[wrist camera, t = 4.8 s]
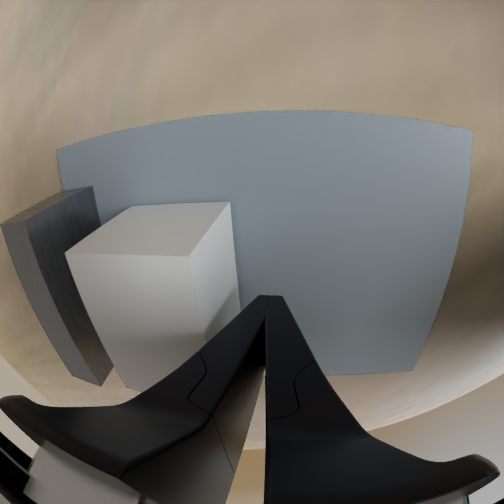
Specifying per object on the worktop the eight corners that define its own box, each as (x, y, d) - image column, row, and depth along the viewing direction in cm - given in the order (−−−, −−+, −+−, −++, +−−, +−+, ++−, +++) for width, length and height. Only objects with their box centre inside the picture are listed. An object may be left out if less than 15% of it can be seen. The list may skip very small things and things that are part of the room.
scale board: (457, 128, 8) (477, 132, 7) (407, 354, 13) (413, 375, 12) (73, 145, 11) (51, 151, 9) (127, 338, 16) (116, 354, 15)
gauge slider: (229, 201, 9) (188, 256, 6) (247, 373, 13) (232, 439, 10) (131, 206, 10) (64, 252, 7) (175, 364, 14) (149, 422, 11)
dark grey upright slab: (92, 185, 10) (24, 221, 7) (135, 332, 14) (101, 386, 10) (63, 190, 11) (0, 224, 7) (108, 327, 14) (72, 375, 11)
